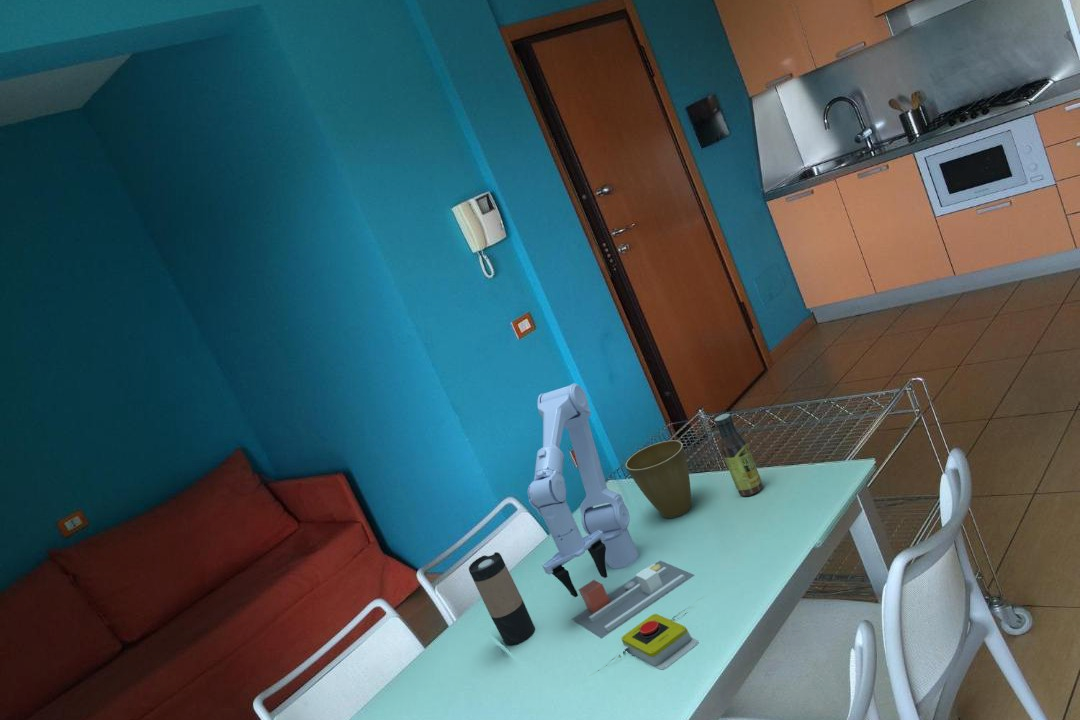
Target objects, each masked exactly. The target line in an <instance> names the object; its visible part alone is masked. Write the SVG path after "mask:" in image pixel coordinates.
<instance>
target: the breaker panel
mask: <svg viewBox="0 0 1080 720" xmlns="http://www.w3.org/2000/svg"><path fill="white" fill-rule="evenodd" d="M647 568H649V569H651V570H653V571H656V572H657V573H658V575H659V577H660V579H661V582H662V584H663V587H662V588H660V589H659V590H657V591H656V592H654V593H653V594H652V595H649V594H647V593H645V592H643V591H642V589H641V586H640V584H639V582H638V580H637V577H636V576H634V577H633V578H632V579H630V580H628V581H627V582H626V583H624V584H623V585H621V586H619V587H618V588H616V589H614V590H613V591H612V592H610V593H609V594H607V596H608V598H609V600H610V602H611V603H609V604H608V605H606V606H605V607H603V608H601V609H600V610H598V611H597V612H595V613H593V612H591V611H589V610H588V609H587V608H586V609H585V610H583V611H581V612H580V613H578V614H577V615H576V616H574V617H572V618H571V620H572V621H574V622H575V623H577V624H578V625H580V626H581V627H583V628H584V629H586V630H588V631H589V632H591V633H592V634H594V635H595V636H597V637H598V638H600V639H603V638H604V637H606V636H607V635H609V634H610V633H612V632H614V631H615V630H616V629H618V628H620V627H621V626H622V625H624V624H625V623H627V622H628V621H630V620H631V619H633V618H634V617H636V616H637V615H639V614H640V613H641V612H642V611H645V610H646V609H648V608H649V607H650V606H652V605H653V604H654V603H656V602H658V601H659V600H661V599H662V598H663V597H665V596H666V595H668V594H669V593H671V592H672V591H673V590H675V589H677V588H678V587H679V586H681V585H683V584H684V583H685V582H687V581H688V580H690V579H692V578H693V577H695V574H693V573H691V572H689V571H686V570H683V569H682V568H678V567H677V566H675V565H672V564H669V563H667V562H665V561H663V560H658V561H657V562H656V563H653V564H651V565H649V566H648V567H647Z"/></svg>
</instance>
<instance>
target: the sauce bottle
mask: <svg viewBox="0 0 1080 720" xmlns="http://www.w3.org/2000/svg"><path fill="white" fill-rule="evenodd" d="M713 421H714V423H715V425H716V427H717V429H718V431H719V434H720V436H721V438H720V445H719V446H720V450H721V453H722V455H723V458H724V460H725V463H726V466H727V468H728V471H729V473H730V476H731V479H732V481H733V484H734V485H735V489H736V490H737V491H738V494H739V495H740V496H742V497H749V496H753V495H755V494H757V493H758V492H760V491H761V490H762V489H763V483H762V478H761V476H760V473H759V470H758V468H757V465H756V463H755V461H754V458H753V455H752V453H751V451H750V447H749V446H748V445H749V444H748V443H747V441H746V440H745V439H744V438H743V437H742V435H741V434H740V433H739V431H737V429H736V427H735V424H734V422H733V418H732V415H731V414H730V413H722V414H721V415H718V416H716V417H715V418H714V420H713Z"/></svg>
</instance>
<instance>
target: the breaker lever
mask: <svg viewBox="0 0 1080 720" xmlns="http://www.w3.org/2000/svg"><path fill="white" fill-rule="evenodd" d="M635 577H637V580H638V582H639V584H640V586H641V589H642V591H643V592H645V593H647V594H649V595H652V594H653V593H654V592H656V591H657V590H659V589H660V588H662V587H663V584H662V582H661V579H660V577H659V575H658V573H657V572H656V571H653V570H651V569H649V568H648V567H645V568H644V569H642V570H641V571H639V572H638V573H636V574H635Z"/></svg>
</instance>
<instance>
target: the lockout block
mask: <svg viewBox="0 0 1080 720" xmlns="http://www.w3.org/2000/svg"><path fill="white" fill-rule="evenodd" d="M578 591H579V593H580V596H581V598H582V600H583V602H584V604H585V606H586V607H585V608H586V609H588V610H589V611H591V612H593V613H595V612H597V611H598V610H600V609H601V608H603V607H605V606H606V605H608V604H609V603H611V602H610V600H609V598H608V596H607V595H608V594H607V591H606V589H605V587H604V585H603V583H601V582H599V581H597V580H595V579H592V580H591V581H590V582H587V584H584V585H583V586H582V587H580V588H579V589H578Z"/></svg>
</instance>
